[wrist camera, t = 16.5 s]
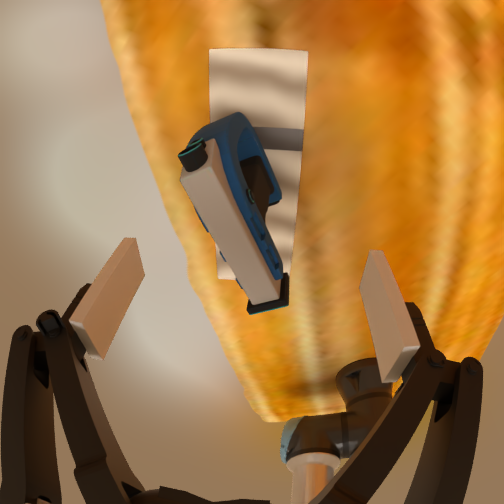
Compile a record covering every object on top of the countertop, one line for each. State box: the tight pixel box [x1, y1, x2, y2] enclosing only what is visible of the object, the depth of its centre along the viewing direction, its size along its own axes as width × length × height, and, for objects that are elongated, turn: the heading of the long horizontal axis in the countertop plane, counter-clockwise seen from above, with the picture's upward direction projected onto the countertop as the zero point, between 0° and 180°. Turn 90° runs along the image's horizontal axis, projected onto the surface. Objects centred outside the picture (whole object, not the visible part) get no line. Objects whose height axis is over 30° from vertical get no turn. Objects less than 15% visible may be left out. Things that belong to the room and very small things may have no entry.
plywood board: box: [209, 48, 308, 280], centre depth 41 cm, size 36×12×1 cm, turn 179°
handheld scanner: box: [178, 112, 289, 315], centre depth 31 cm, size 5×16×20 cm, turn 23°
